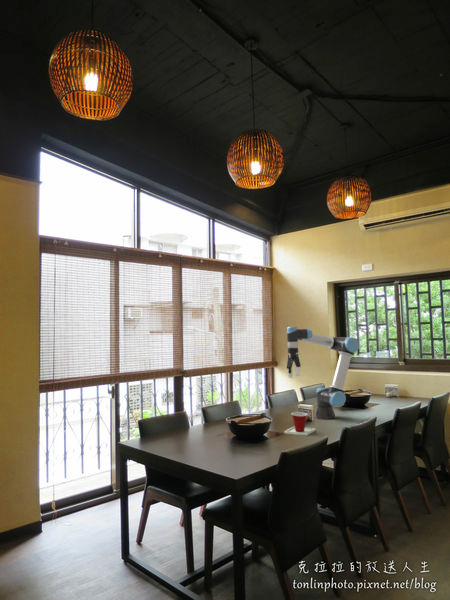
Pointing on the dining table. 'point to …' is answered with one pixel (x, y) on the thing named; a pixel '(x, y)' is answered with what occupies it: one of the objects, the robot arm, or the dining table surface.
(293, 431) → the tray
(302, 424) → the plastic cup
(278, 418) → the dining table surface
